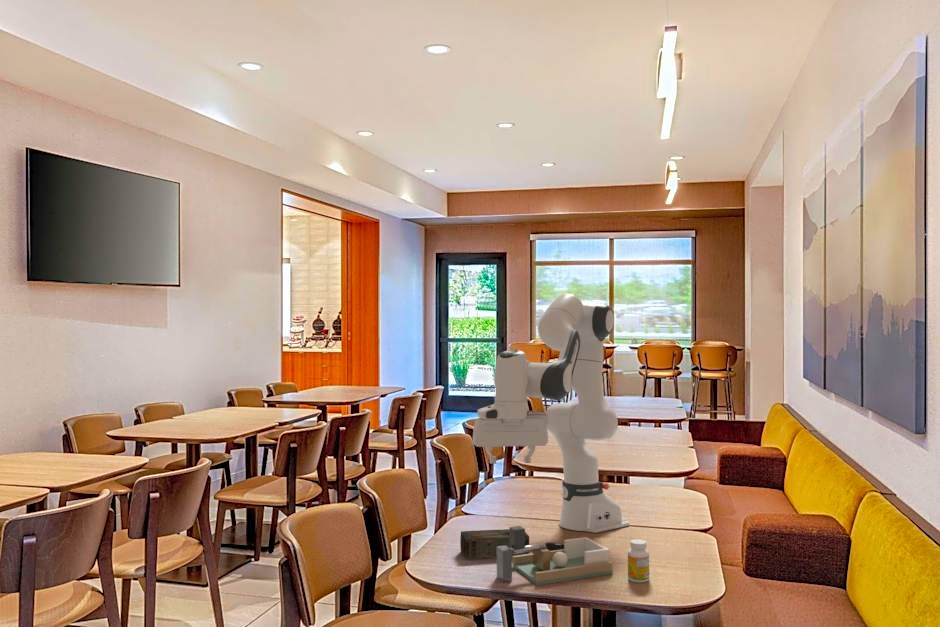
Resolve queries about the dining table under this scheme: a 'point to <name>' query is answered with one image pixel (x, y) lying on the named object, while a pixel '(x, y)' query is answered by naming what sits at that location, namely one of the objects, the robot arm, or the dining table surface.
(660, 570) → the dining table surface
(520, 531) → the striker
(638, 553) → the supplement bottle
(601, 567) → the foosball board
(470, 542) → the olive storage box
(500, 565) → the grey tall block
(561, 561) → the ball
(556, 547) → the cell phone
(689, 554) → the dining table surface
